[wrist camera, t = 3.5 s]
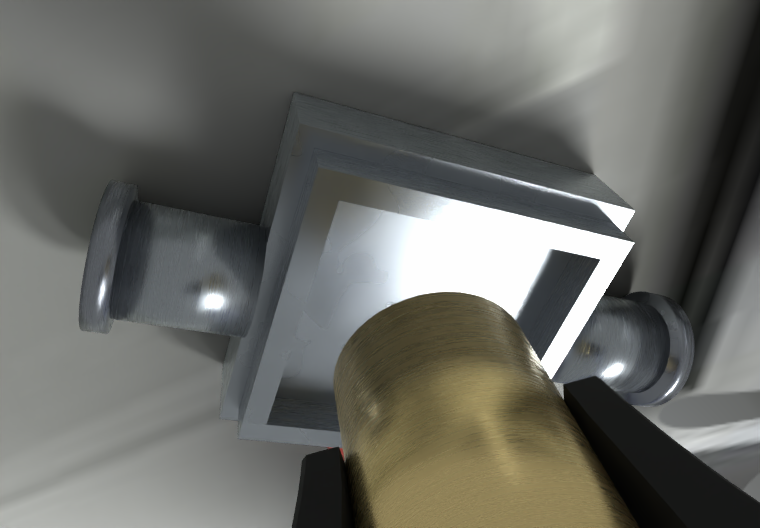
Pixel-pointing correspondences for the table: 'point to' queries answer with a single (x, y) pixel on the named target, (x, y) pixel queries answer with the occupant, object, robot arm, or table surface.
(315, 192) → the valve body
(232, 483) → the table surface
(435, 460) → the brass cylinder
